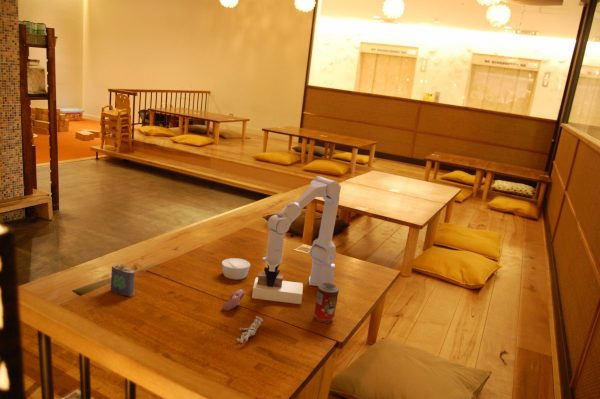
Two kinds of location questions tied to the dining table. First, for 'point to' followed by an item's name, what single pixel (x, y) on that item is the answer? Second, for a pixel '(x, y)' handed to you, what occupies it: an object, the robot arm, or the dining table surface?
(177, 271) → the dining table surface
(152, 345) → the dining table surface
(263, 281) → the rail end
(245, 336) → the soldier figure
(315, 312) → the soda can
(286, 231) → the robot arm
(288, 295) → the white rectangular box
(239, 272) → the ramekin
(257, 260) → the dining table surface
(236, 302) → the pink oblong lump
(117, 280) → the flask
